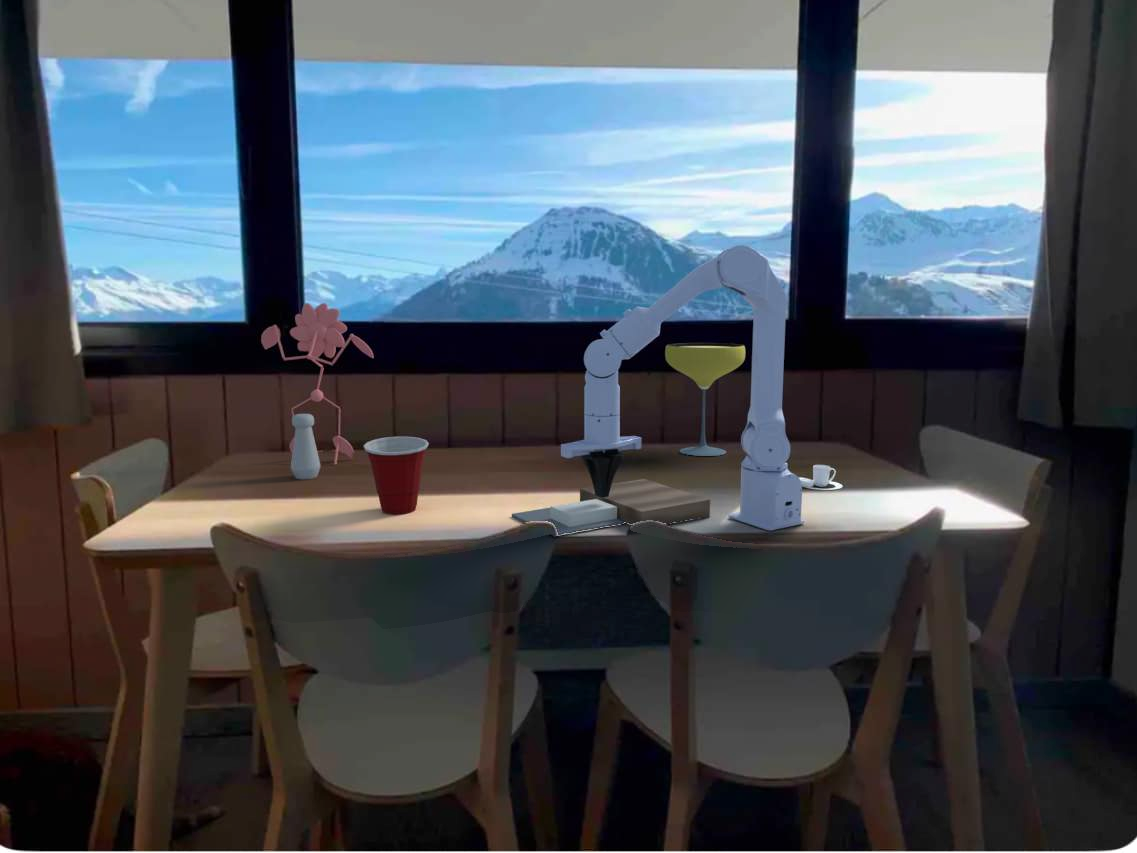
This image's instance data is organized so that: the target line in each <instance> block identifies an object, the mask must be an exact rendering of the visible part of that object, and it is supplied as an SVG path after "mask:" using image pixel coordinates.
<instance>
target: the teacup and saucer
mask: <svg viewBox="0 0 1137 853" xmlns="http://www.w3.org/2000/svg"><path fill="white" fill-rule="evenodd" d="M832 470H833V475H832V476H831V477H830V474H831V471H832ZM836 474H837V471H836V469H835V468H832V467H831V466H830V465H826V464H815V465H813V466H812V476H813V479H810V478H807V477H799V476H798V477H799V479H800V481H801V484H802V488H806V489H811V490H817V491H833V490H834V491H835V490H840V489H843V487H844V486H843V484H841V483H839V482H837V481H833V480H834V478H835V476H836ZM828 484H830V485H833V486H835V487H832V488H825V487H827V485H828ZM814 486H815V487H814ZM816 486H817V487H816ZM818 487H821V488H818ZM823 487H824V488H823Z"/></svg>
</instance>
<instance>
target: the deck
mask: <svg viewBox="0 0 1137 853" xmlns="http://www.w3.org/2000/svg"><path fill="white" fill-rule="evenodd" d="M593 499H598V500H601V501H604V502H606V503H609V504H611V505H614V506H617V519H619V520H621V521H624V522H626V523H629V524H633V523H636V522H640V521H646V520H653V521H659V522H662V523H666V524H670V523H673V522H680V521H685V520H690V519H697V520H699V519H698V518H703V519H706V517H708V518H710V517H711V514H710V513H711V499H709V498H707V497H704V496H700V495H696V494H693V493H691V492H688V491H684V490H681V489H677V488H674V487H672V486H668V485H664V484H662V483H658V482H655V481H653V480H649V479H646V478H642V479H635V480H628V481H622V482H616V483H615V482H614V483H612V485H611V488H610V492H609V496H608V497H603V498H601V497H599V496H596V495H595V491H594V487H593V486H589V487H582V488H579V502H581V501H587V500H593Z"/></svg>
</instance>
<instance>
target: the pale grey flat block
mask: <svg viewBox="0 0 1137 853" xmlns="http://www.w3.org/2000/svg"><path fill="white" fill-rule="evenodd" d="M550 507H551V519H553V520H556V521H558V522H560V523H562V524H564V525H567V526H569V527H573V526H579V525H584V524H590V523H596V522H601V521H607V520H612V519H617V506H614V505H611V504H609V503H606V502H604V501H601V500H598V499H593V500H587V501H581V502H580V501H576V502H569V503H564V504H563V503H562V504H556V505H551V506H550Z"/></svg>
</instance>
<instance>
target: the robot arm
mask: <svg viewBox="0 0 1137 853" xmlns="http://www.w3.org/2000/svg"><path fill="white" fill-rule="evenodd" d="M723 287H724V288H725V289H726V288H727V289H728V290H730V291H733V292H735V293H737V294H739V296H740V297H741V298H743V300H745V301H746V302H747V303H748V304H749V305H750V306H751V307H752V308H753V322H752V323H753V325H752V326H753V327H752V351H751V353H752V354H751V380H750V384H751V385H750V407H749V410H748V413H747V422H746V426H745V428H744V430H743V432H742V434H741V437H740V443H741V447H742V450H743V451H744V452H745V454H746V456H745V458H744V459H743V460H742V461H741V463H740V464H741V466H740V468H741V469H740V499H739V500H740V501H739V502H740V503H739V504H740V505H739V511H738V512H735V513H729V514H728V518H730V519H733V520H735V521H739V522H742V523H745V524H748V525H751V526H755V527H756V528H760V529H763V530H766V531H776V530H779V529H784V528H789V527H793V526H797V525H802V524H805V520H803V519H802V504H803V503H802V502H803V501H802V500H803V499H802V498H803V486H802V484H801V481H800V479H799V476H798V475H797V474H795V473H792V472H791V471H790V470H789V469H788V463H787V461H788V459H789V457H790V454H791V444H790V441H789V439H788V437H787V434H786V422H785V421H786V420H785V417H784V413H783V412H784V411H783V391H784V390H783V389H784V388H783V387H784V367H785V366H784V364H785V363H784V360H785V341H786V338H785V337H786V317H787V315H786V313H787V295H786V292H785V290H784V289H783V287H782V285H781V283H780V282H779V279H778V278H777V277H776V274H775V273H774V272H773V270H772V268H771V267H770V263H769V261H768V258H766V257H765V256H764V255H762V254H761V253H760V252H758V251H757V250H756V249H754V248H753V247H751V246H748V245H744V244H741V245H740V244H738V245H735V246H732V247H731V248H727V249H725V250H723V251H722V252H721V253H718V255H717V256H715V257H713V258H711V259H709V260H708V261H706V262H704V263H703V264H700V265H699V266H697V267H696V268H694V269H693V270H691V272H689V273H688V274H687V275H686V276H684V277H683V278H682V279H681V280H680V281H679V282H677V283H676V284H675V285H674V286H673V287H672V288H670V289H669V290H668V291H666V292H665V294H663V295H662V296H660V297H659V299H658V300H656V301H655V302H653V304H651V305H650V306H649V307H642V306H636V307H634V309H632V310H631V309H630V308H628V309H626V310H625V311H624V312H623V317H622V318H621V319H619V321H616V323H615V324H614V325H612V326H611V327H610V328H608V330H606V329H603V330H602V331H601V332H599V334H600V336H601V339H596V340H593V341H592V342H591V343H590V344H588V346H587V348H586V350H585V351H584V355H583V364H584V366H585V368H586V370H585V374H584V381H585V385H584V388H583V389H584V391H583V392H584V400H583V401H584V406H583V407H584V409H583V410H584V412H583V413H584V426H583V427H584V438H583V439H582V440H576V441H573V442H567V443H562V444H560V456H561V457H563V458H566V459H570V458H573V457H579V456H581V459H582V461H583V463H584V465H585V467H586V468H587V471H588V474H589V476H590V479H591V482H592V487H594V491H595V495H596V496H599V497H601V498H603V497H608V496H609V492H610V488H611V485H612V484H613V481H614V477H615V475H616V473H617V471H618V469H619V466H620V465H621V464H622V462H623V459H624V454H623V453H621V452H620V451H624V450H625V451H626V450H641V449H642V437H640V436H636V435H630V436H627V435H626V436H621V435H620V434H621V431H620V430H621V427H620V425H621V424H620V422H621V421H620V420H621V416H620V415H621V414H620V413H621V412H620V409H621V408H620V406H621V405H620V404H621V402H620V401H621V400H620V398H621V394H620V393H621V390H620V389H621V387H620V385H619V369H620V367H621V365H622V361H623V360H630V359H631V358H632V357H634V356H635V355H636V354H638V353H639V352H640V351H641V350H642V349H644V348H645V347H646V346H648V344H650V343H652V342H653V341H654V340H655V339H656V338H657V337H659V336H660V333H661V324H662V323H663V322H664V321H665V320H667V319H668V318H669V317H671V316H673V315H674V314H675V313H677V312H678V311H679V310H680V309H682V308H683V307H684V306H685V305H687V304H688V303H689V302H691V301H692V300H693V299H694V298H696V297H697V296H699V295H700V294H701V293H704V292H709V291H713V290H718V289H722V288H723Z"/></svg>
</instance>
